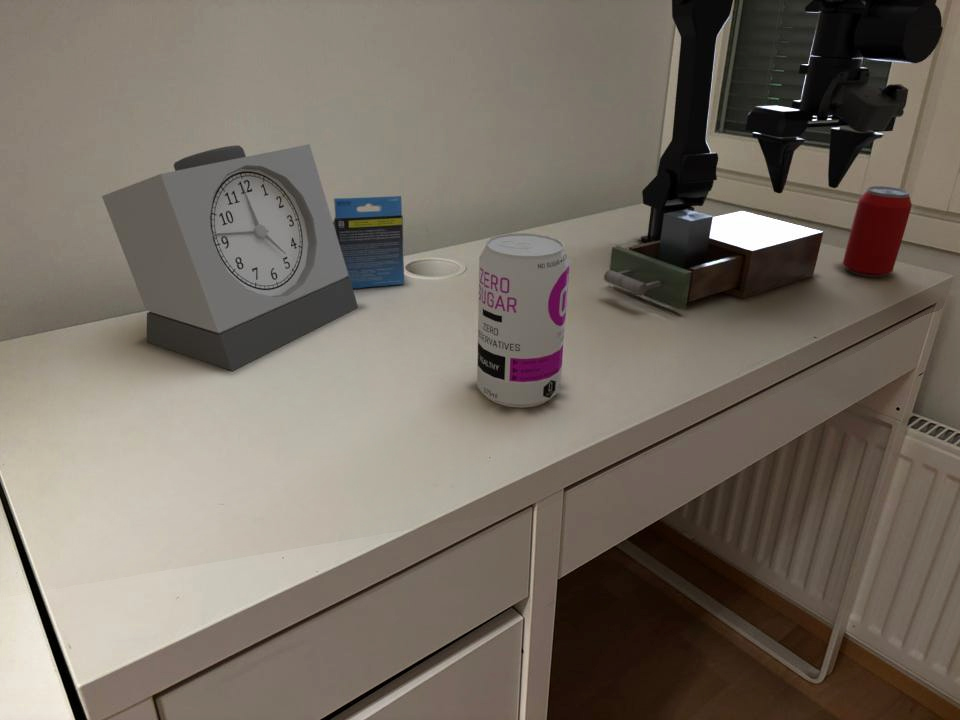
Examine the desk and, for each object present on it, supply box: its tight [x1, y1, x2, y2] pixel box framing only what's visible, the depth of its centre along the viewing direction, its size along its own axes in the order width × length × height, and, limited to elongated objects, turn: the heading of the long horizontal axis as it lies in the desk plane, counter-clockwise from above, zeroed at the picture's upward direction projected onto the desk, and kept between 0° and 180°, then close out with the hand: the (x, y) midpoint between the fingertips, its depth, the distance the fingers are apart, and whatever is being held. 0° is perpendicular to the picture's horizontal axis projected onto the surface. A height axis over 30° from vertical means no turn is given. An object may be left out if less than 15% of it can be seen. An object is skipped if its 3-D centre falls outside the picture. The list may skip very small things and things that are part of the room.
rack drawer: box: [603, 240, 746, 311], centre depth 94 cm, size 20×12×5 cm, turn 126°
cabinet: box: [708, 210, 824, 299], centre depth 102 cm, size 17×14×7 cm
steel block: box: [658, 209, 714, 270], centre depth 93 cm, size 4×4×8 cm
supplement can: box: [476, 232, 571, 409], centre depth 67 cm, size 8×8×15 cm
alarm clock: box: [101, 143, 359, 372], centre depth 80 cm, size 20×16×20 cm
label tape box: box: [332, 195, 405, 290], centre depth 94 cm, size 9×4×12 cm, turn 106°
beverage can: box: [842, 185, 913, 278], centre depth 102 cm, size 7×7×12 cm
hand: (805, 190), depth 90 cm, fingers open, 9 cm apart
